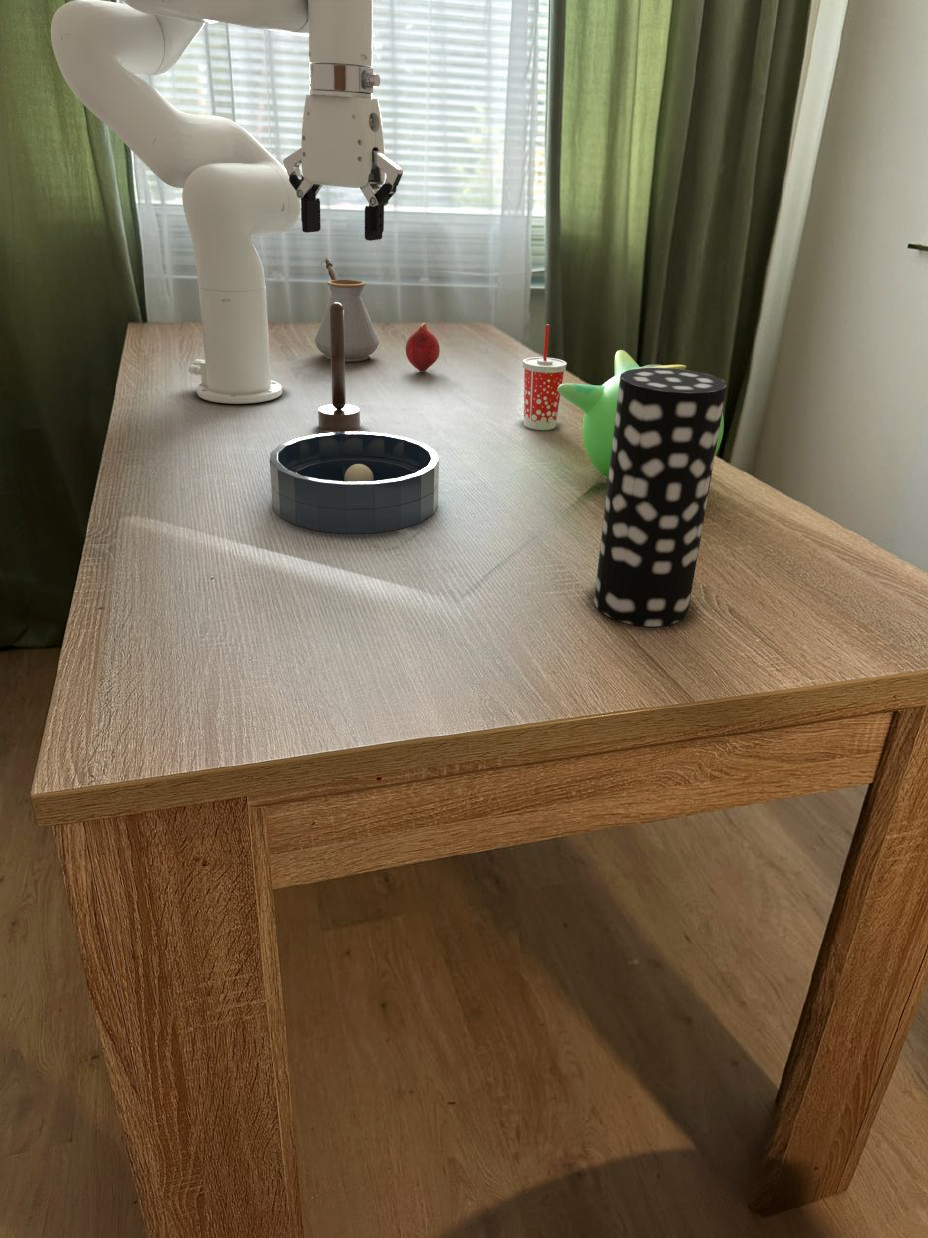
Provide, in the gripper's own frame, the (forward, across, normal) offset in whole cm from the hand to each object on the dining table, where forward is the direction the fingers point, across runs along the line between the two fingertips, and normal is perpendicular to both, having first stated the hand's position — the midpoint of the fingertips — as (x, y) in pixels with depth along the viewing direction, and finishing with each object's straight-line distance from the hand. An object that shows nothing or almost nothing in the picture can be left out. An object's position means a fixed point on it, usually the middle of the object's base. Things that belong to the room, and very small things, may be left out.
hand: (342, 235), depth 119 cm
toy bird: (+24, -45, +2) cm, 51 cm away
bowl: (+24, -21, +29) cm, 43 cm away
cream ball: (+22, -19, +24) cm, 38 cm away
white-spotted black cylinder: (+23, -55, +34) cm, 69 cm away
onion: (+25, +6, -32) cm, 41 cm away
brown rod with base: (+24, -3, +5) cm, 25 cm away
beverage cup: (+24, -25, -14) cm, 37 cm away
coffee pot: (+25, +26, -37) cm, 51 cm away
